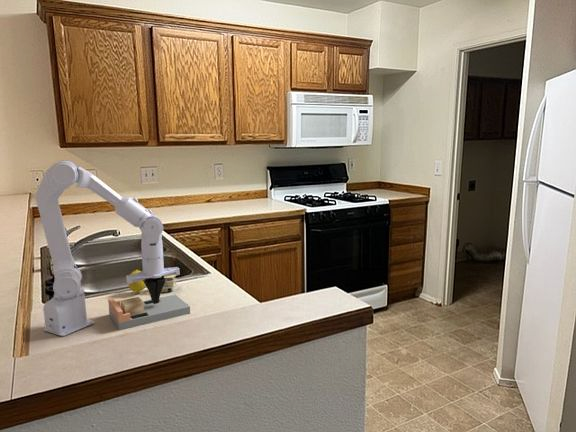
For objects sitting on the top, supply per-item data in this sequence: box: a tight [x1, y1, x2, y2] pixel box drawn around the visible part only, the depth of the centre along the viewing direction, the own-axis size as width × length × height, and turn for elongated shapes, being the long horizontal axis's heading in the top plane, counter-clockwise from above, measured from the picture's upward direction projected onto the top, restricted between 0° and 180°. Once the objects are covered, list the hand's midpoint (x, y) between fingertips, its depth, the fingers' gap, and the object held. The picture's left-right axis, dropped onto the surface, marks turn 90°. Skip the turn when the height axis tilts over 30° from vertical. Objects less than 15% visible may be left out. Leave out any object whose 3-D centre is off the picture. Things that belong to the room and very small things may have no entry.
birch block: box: [120, 296, 144, 315], centre depth 118 cm, size 5×5×3 cm
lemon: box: [127, 269, 146, 294], centre depth 137 cm, size 6×6×8 cm
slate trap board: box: [108, 294, 191, 331], centre depth 121 cm, size 20×12×2 cm, turn 124°
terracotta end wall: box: [107, 297, 131, 323], centre depth 116 cm, size 3×12×3 cm, turn 34°
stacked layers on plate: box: [161, 275, 178, 293], centre depth 140 cm, size 10×9×6 cm
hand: (155, 302), depth 121 cm, fingers closed
